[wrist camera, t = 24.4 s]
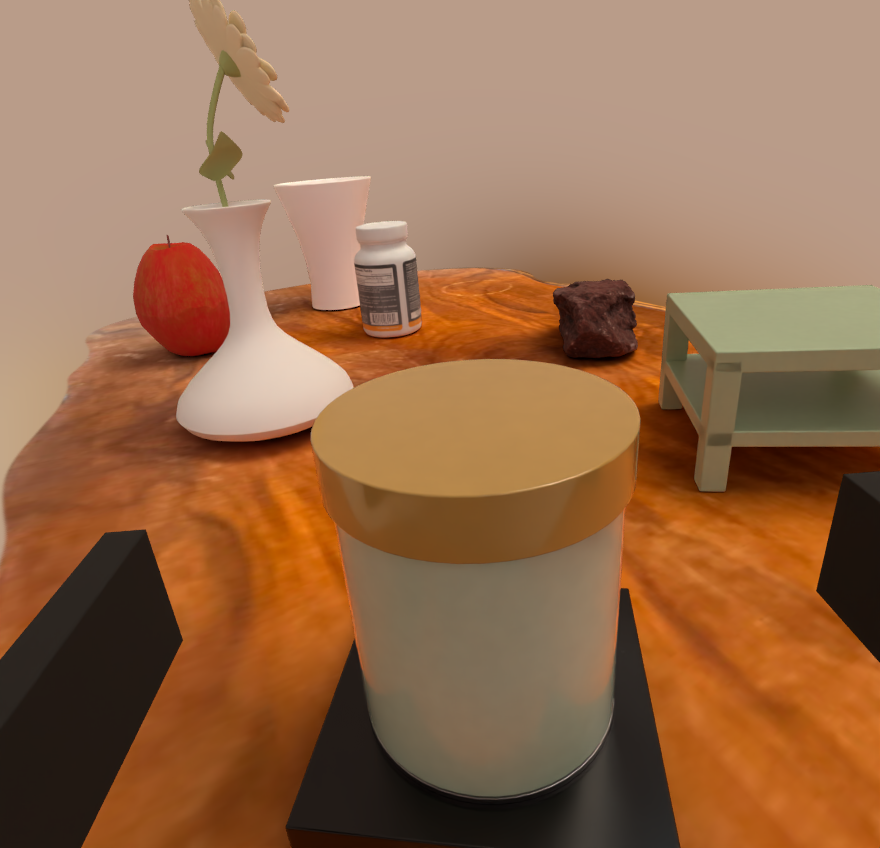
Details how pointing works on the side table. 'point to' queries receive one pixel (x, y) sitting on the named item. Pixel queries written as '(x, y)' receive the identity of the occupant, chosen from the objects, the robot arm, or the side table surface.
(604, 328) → the rock
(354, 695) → the hot plate
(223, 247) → the flower in vase
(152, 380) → the side table surface
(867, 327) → the shelf
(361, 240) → the pill bottle
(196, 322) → the apple
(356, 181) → the cup
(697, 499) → the side table surface
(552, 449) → the jar
